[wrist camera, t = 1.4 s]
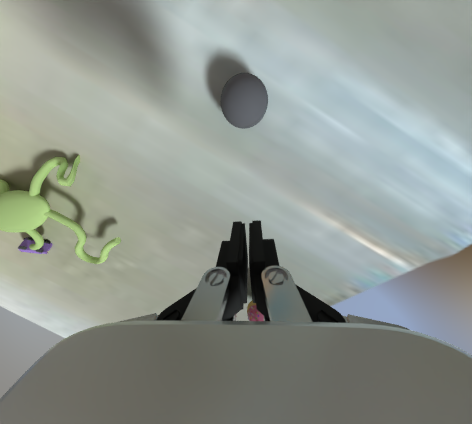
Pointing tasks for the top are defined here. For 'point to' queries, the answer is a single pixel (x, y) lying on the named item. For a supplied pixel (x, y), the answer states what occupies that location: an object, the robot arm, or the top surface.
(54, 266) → the top surface
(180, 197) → the top surface
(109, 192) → the top surface
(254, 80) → the dark gray ball
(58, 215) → the figurine
